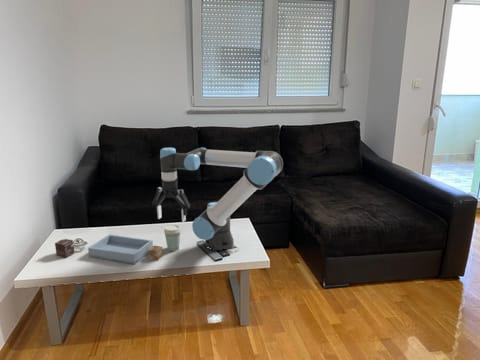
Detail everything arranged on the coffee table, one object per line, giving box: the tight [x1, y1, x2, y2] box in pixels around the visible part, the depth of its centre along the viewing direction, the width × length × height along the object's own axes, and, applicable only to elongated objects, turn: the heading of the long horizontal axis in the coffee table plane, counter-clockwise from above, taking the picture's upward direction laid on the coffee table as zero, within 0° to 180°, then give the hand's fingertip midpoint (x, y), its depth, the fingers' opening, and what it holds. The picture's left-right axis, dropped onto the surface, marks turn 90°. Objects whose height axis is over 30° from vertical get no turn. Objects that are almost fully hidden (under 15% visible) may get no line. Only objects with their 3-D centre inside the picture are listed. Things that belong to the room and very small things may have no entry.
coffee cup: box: [163, 224, 182, 252], centre depth 195 cm, size 8×8×12 cm
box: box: [54, 238, 75, 259], centre depth 190 cm, size 6×6×7 cm
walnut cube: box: [148, 245, 164, 261], centre depth 187 cm, size 5×5×5 cm
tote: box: [87, 234, 154, 265], centre depth 192 cm, size 26×17×5 cm, turn 73°
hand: (171, 219), depth 192 cm, fingers open, 13 cm apart
